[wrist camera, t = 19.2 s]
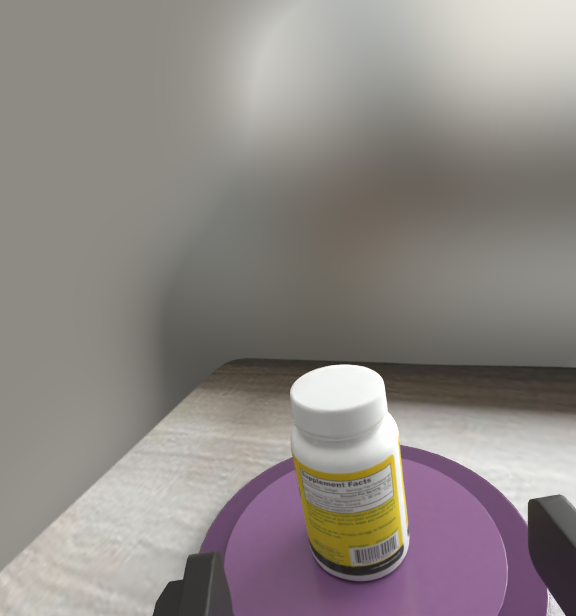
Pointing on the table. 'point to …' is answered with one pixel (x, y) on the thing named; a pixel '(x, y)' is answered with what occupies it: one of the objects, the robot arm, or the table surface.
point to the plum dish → (412, 570)
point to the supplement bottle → (349, 472)
